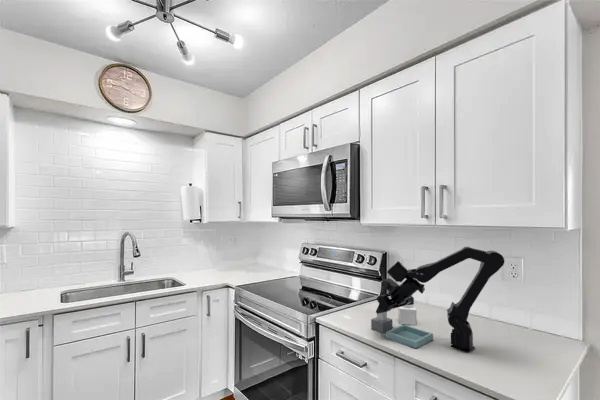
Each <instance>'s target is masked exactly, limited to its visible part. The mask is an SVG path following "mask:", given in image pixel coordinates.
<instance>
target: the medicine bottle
mask: <svg viewBox="0 0 600 400" xmlns="http://www.w3.org/2000/svg"><path fill="white" fill-rule="evenodd" d="M411 298H412V302H411V303H410V304H407V305H405V306H401V307H397V310H398V311H397V313H398V314H397V319H398V322H399V324H400V325H403V324H404V325H407V326H417V309H416V307H415V300H414V299H415V298H414V297H413V296H412V297H411ZM405 302H407V301H405Z"/></svg>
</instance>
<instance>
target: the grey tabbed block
mask: <svg viewBox="0 0 600 400" xmlns="http://www.w3.org/2000/svg"><path fill="white" fill-rule="evenodd" d="M387 313H388V312H383V313H379V314H377V313H376V317H373V318H371V319H370V321H371V322H370V324H371V325H370V327H371V328H370V329H371V330H372V331H375V332H376V333H380V334H386V332H387V331H389V330H392V329H394V328H393V319H392V318H389V317H388V314H387Z"/></svg>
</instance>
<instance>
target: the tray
mask: <svg viewBox="0 0 600 400" xmlns="http://www.w3.org/2000/svg"><path fill="white" fill-rule="evenodd" d="M385 336H386V337H385V339H388V340H390V341H393V342H395V343H398V344H401V345H404V346H406V347H409V348H412V349H415V350H417V349H420V348H421V347H423V346H426V345H427V344H428V343H431V342H432V341H434V333H432V332H429V331H426V330H422V329H419V328H416V327H412V326H411V325H407V324H400V325H399V326H397V327H394V328H393V329H392V330H389V331H387V332H386V333H385Z"/></svg>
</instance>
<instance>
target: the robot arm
mask: <svg viewBox="0 0 600 400" xmlns="http://www.w3.org/2000/svg"><path fill="white" fill-rule="evenodd" d="M469 259H471V260H474V261H477V262H480V264H479V267H478V270H477V273H476V274H475V276H474V277H473V279H472V280H471V282H470V284H469V285H468V286H467V288H466V290H465V292H464V293H463V295H462V296H461V298H460V299H459V301H458V302H456V303H454V302H453V301H452V302H451V304H450V306H449V307H448V309H446V312H447V313H446V316H447V321H448V324H449V326H450V327H452V329H451V332H450V346H449V347H450V348H451V349H454V350H455V349H456V350H458V351H461V352H464V353H466V354H469V353H470V352H472V351H473V350H474V349H476V347H475V346H474V336H473V335H474V333H473V330H472V327H471V324H470V322H469V321H468V318H469V314H470V310H471V308H472V306H473V305H474V303H475V301H476V300H477V298H478V297H479V295H480V294H481V292H482V291H483V289H484V288H485V285H486V284H487V283H488V281H489V279H490V278H491V277H492V276H494V275H495V274H496V273H497V272H499V271H500V269H501V268H502V267H503V266H504V264H505V262H506V261H505V258H504V257H503V255H502V254H501V253H499V252H498V251H496V250H488V251H486V250H481V249H476V248H473V247H470V246H464V247H462V248H461V249H459V250H457V251H455V252H453V253H450V254H449V255H447V256H445V257H443V258H441V259H439V260H437V261H435V262H431V263H426V264H423V265H419V266H418V267H416V268H413V269H411V268H409V269H407V268H406V266H404V265H403V264H402V262H400V261H399V260H398V261H396V262H395V263H394V265H391V266H390V268H389V269H387V270H386V273H387V275H389V277H391V278H389V277H388V278H385V279H383V280H382V281H381V287H382V288H383V289H385V290H387V291H388V294H382V295H378V297H376V301H377V302H378V306H377V308H376V310H375V313H376V315H377V314H379V313H383V312H387V313H388V312H390V311H391V310H393V309H398V307H401V306H405V305H407V304H410V303H411V302H412V298H411V297H413V295H414V294H415V293H417V291H418V292H419V293H421V294H423V293H424V292H425V290H426V289H425V283H428V282H429V281H430V280H432V279H433V278H435V277H436V276H437V275H438V274H439V273H441V272H442V271H445V270H447V269H449V268H451V267H453V266H455V265H458V264H459V263H462V262H464V261H465V260H466V261H467V260H469ZM397 282H398V283H401V284H398V283H397ZM388 295H389V296H390V298H389V296H388ZM405 301H407V302H405Z"/></svg>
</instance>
